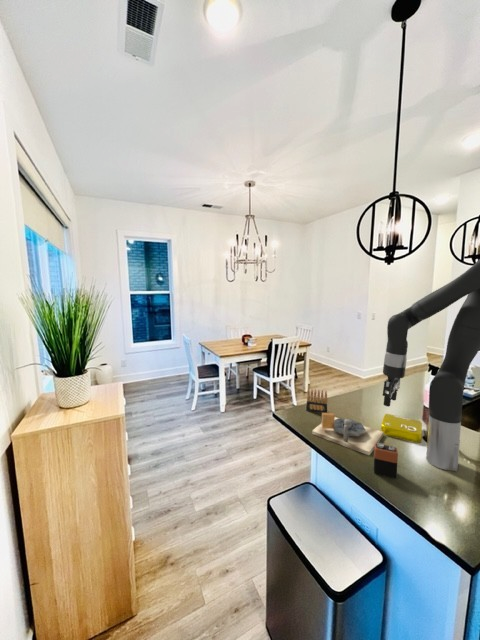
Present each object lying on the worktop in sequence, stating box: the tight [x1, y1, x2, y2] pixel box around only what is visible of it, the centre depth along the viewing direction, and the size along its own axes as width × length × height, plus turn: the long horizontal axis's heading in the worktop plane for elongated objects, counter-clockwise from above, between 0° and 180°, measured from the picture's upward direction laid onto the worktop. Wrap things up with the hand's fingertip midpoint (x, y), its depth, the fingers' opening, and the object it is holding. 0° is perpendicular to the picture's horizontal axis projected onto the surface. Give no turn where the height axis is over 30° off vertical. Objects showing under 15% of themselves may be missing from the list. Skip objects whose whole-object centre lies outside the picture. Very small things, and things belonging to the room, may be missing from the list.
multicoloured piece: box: [321, 412, 365, 436], centre depth 117 cm, size 18×13×6 cm
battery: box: [373, 442, 399, 479], centre depth 92 cm, size 4×7×10 cm, turn 65°
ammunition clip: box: [305, 388, 328, 414], centre depth 141 cm, size 11×2×12 cm, turn 69°
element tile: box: [380, 413, 423, 444], centre depth 120 cm, size 15×15×5 cm
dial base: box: [311, 416, 384, 457], centre depth 117 cm, size 24×20×8 cm
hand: (389, 402), depth 108 cm, fingers open, 8 cm apart
